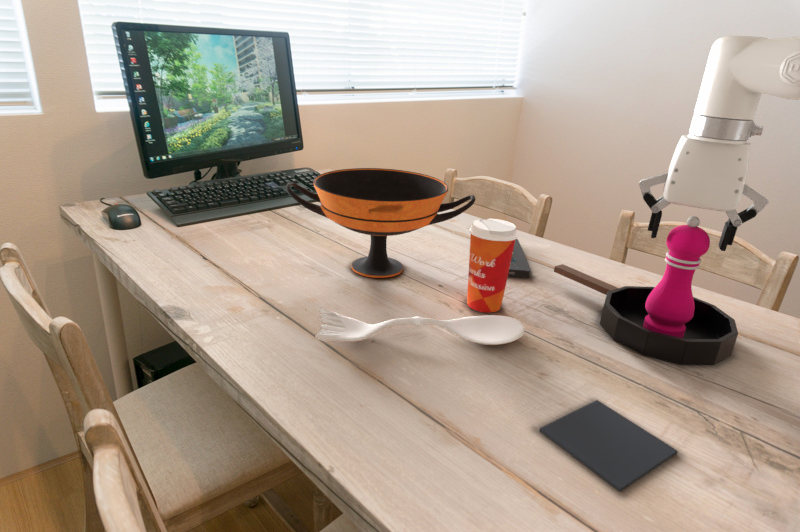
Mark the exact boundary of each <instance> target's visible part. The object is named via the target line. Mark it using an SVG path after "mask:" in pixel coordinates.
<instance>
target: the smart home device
mask: <svg viewBox="0 0 800 532" xmlns="http://www.w3.org/2000/svg"><path fill="white" fill-rule="evenodd" d="M508 277H512V278H525V279H529V278H530V277H531V267H530V264H529V262H528V259H527V258H526V255H525V252H524V250H523V248H522V244H521V243H520V241H519V239H518V238H516V239H515V244H514V249H513V254H512V258H511V263H510V268H509V273H508Z"/></svg>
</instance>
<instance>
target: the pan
mask: <svg viewBox="0 0 800 532" xmlns="http://www.w3.org/2000/svg"><path fill="white" fill-rule="evenodd" d="M553 272H554V273H556V274H557V275H558V274H559V275H561V276H563V277H565V278H567V279H570V280H572V281H574V282H576V283H578V284H581V285H583V286H585V287H587V288H590V289H592V290H594V291H596V292H598V293H601V294H603V295H605V298H604V302H603V306H602V311H601V316H600V320H599V326H600V327H602V329H603V330H604V331H605V332H606V333H607V335H609V337H610V338H611V339H612V340H613V341H615V342H616V343H619V344H621V345H622V346H624V347H627V348H628V349H630V350H633V351H634V352H636V353H637V354H640V355H642V356H645V357H649V358H653V359H656V360H661V361H665V362H669V363H673V364H677V365H682V366H715V365H717V364H718V363H720V362H722V361H724V360H725V359H728V358H729V357H731V356H732V353H733V349H734V347H735V344H736V342H737V338H738V335H739V331H738V328H737V323H736V320H735V319H734V318H733V317H732V316H730V315H729V314H727V313H726V312H725V311H723V310H722V309H720V308H719V307H718V306H716V305H714V304H713V303H710V302H707V301H705V300H703V299H701V298H700V299H699V298H698V297H695V296H693V299H694V306H695V310H694V315H693V318H692V319H691V320H690V321H688V322H687V323H685V326H686V330H685V333H684V337H683V338H680V337H675V336H671V335H667V334H663V333H659V332H655V331H651V330H648V329H646V328H644V327H643V323H644V319H645V317H646V316H647V315H649V314H648V312H647V310H646V308H645V303H646V300H647V298H648V296H649V294H650V293H651V291H652V290H653V289H654V288H655V287H656V286H642V285H641V286H639V285H637V286H634V285H633V286H632V285H624V286H621V287H617V286H615V285H612V284H611V283H608V282H605V281H603V280H601V279H599V278H596V277H594V276H591V275H590V274H587V273H585V272H583V271H579V270H578V269H575V268H573V267H570V266H568V265H566V264H563V263H561V264H558V265H554V268H553Z"/></svg>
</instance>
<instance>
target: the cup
mask: <svg viewBox="0 0 800 532" xmlns="http://www.w3.org/2000/svg"><path fill="white" fill-rule="evenodd" d="M312 181H313V186H314V187H313V188H314V189H315V192H313V191H310V190H308V189H306V188H305V187H303V186H301V185H300V184H298V183H296V182H292V181H289V182H288V183H287V184H286V191H287V193H288V194H289V196H290V197H292V199H293V200H295V201H296V202H297V203H298V204H300V205H301V206H302V207H304V208H305V209H307V210H309V211H311V212H313V213H315V214H317V215H320V216H322V217H324V218H326V219H328V220H330V221H332V222H333V223H336V224H337V225H339V226H341V227H343V228H344V229H347V230H349V231H352V232H354V233H358V234H362V235H367V236H370V246H369V251H368V255H367V256H363V257H360V258H356V259H355V260H353V261H352V262H351V269H352V271H353V272H354V273H356V274H358V275H360V276H363V277H366V278H375V279H377V278H378V279H386V278H392V277H395V276H398V275H401V273H402V272H403V270H404V265H403V264H402V262H400V261H399V260H397V259H394V258H391V257H388V251H387V241H388V240H387V239H388V237H390V236H391V237H392V236H400V235H405V234H408V233H412V232H414V231H417V230H419V229H422V228H425V227H427V226H430V225H435V224H438V223H442V222H446V221H448V220H452V219H453V218H455V217H458V216H460V215H461V214H463V213H465V212H466V211H467V210H468V209H470V208H471V207H472V206H473V205H474V204H475V202H476V196H475V195H474V194H470V195H467V196H465V197H462V198H460V199H457V200H455V201H451V202H444V203H443V201H444V199H445V197H446V196H447V195H448V192H449V186H448V185H447V183H446V182H445V181H443V180H441V179H439V178H436V177H434V176H431V175H429V174H425V173H420V172H415V171H409V170H403V169H395V168H394V169H393V168H379V167H357V168H356V167H355V168H343V169H336V170H330V171H326V172H323V173H321V174H318V175H316V176H315V177H314V179H313V180H312ZM291 187H293V188H294V189H296V190H298V191H299V192H301V193H302V194H303V195H304V196H306V197H308V198H310V200H311V199H312V200H313V201H315V202H317V203H319V204H320V205H318V204H316V203H313V202H310V201H308V200H306V199H304V198H302V197H301V196H300V195H298V194H297V193H295V192H294V191H293V190H292V188H291ZM466 202H467V203H466ZM465 203H466V204H465ZM463 204H465V205H463ZM460 205H463V206H461V207H459V206H460ZM457 207H459V208H457ZM455 208H457V209H455ZM452 209H454V210H452ZM449 210H452V211H449ZM445 211H447V212H445Z"/></svg>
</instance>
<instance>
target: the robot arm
mask: <svg viewBox="0 0 800 532" xmlns="http://www.w3.org/2000/svg"><path fill="white" fill-rule="evenodd" d="M704 69H705V70H704V73H703V77H702V81H701V84H700V88H699V92H698V96H697V99H696V103H695V107H694V111H693V114H692V118H691V122H690V126H689V130H688V133H687V134H682V135H681V137H680V139H679V141H678V143H677V145H676V147H675V150H674V152H673V154H672V157H671V160H670V163H669V167H668V171H666V172H663V173H660V174H656V175H653V176H649V177H647V178H643V179H640V180H639V183H638V186H639V190H640V192H641V195H642V199H643V201H644V202H645V204H646V206H647V207H648V208H649V209H650V211H651V214H650V218H649V222H648V227H647V231H649V232H651V233H650V238H651V239H656V238H657V235H658V232H659V228H660V224H661V220H662V216H663V210H664V209H665V208H666V207H668V206H669V205H671V204H673V205H678V206H684V207H689V208H697V209H702V210H709V211H715V212H724V213H725V214H726V215H727V217H728V220H726V221H724V226H723V228H722V231H721V235H720V238H719V241H718V248H719V250H720V251H721V252H726V250H727V247H728V246H732V245H733V244H734V243H733V242H734V240H735V238H736V237H735V236H736V234H737V230H738V227H741V226H742V225H743V224H744V223H746V222H748V221H750V220H752V219H754V218H755V217H757V215H758V214H759V213H761V211H763V209H765V208H766V207H767V206H768V205H769V203H770V200H769V198H767V196H765V195H763V194H762V193H760V192H759V191H757V190H755V189H754V188H753V187H751V186H750V185H748V183H746V179H747V175H748V170H749V166H750V159H751V153H752V143H751V142H748V141H749V139H750V138H752V137H755V136H762V134H763V131H764V126H763V125H759V124H757V123H756V122H755V121H754V119H755V115H756V112H757V109H758V106H759V103H760V100H761V97H762V94H763V95H767V96H773V97H776V98H781V99H786V100H792V101H798V100H799V101H800V36H794V37H793V36H792V37H782V38H781V37H780V38H779V37H778V38H768V37H763V36H751V35H724V36H720V37H719V38H717V39H716V40H715V41H714V42H713V44H712V45H711V49H710V51H709V54H708V57H707V62H706V66H705V68H704ZM661 184H664V185H663V190H662V192H663V193H662V196H660V197H658V198H657V199H656V197H655V196H654V195H653V193H652V191H651V187H653V186H657V185H661ZM742 195H744V196H745V197H747V198H748V199H750V200H751V201H752V204H751V205H750V206H749V207H747V208H745V209H744V210H742V211H740V212H738V211H737V208H738V207H739V205H740V202H741V199H742Z"/></svg>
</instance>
